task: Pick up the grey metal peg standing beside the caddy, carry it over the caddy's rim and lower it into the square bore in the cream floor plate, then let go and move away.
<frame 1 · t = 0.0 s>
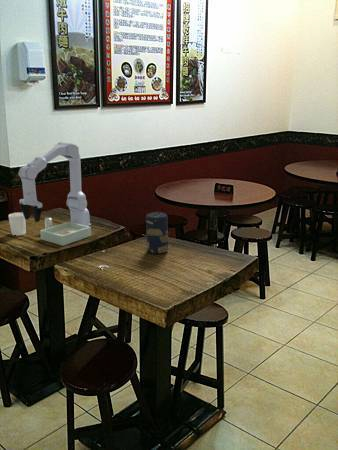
hand: (32, 220, 223), 10 cm above the table, tool pointing down, fingers open, 7 cm apart
white cup: (18, 234, 236), on the table
peg: (49, 231, 238), on the table
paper: (104, 264, 197), on the table
caddy: (66, 237, 229), on the table
canister: (157, 251, 210), on the table
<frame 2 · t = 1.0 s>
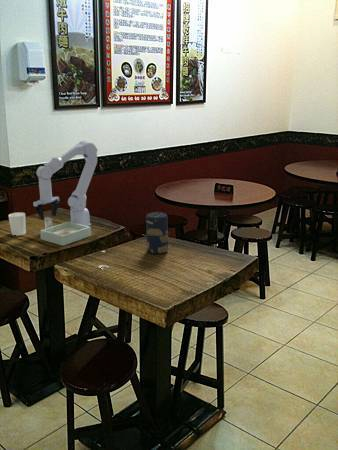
hand: (47, 217, 236), 8 cm above the table, tool pointing down, fingers open, 7 cm apart
nothing on the table moved.
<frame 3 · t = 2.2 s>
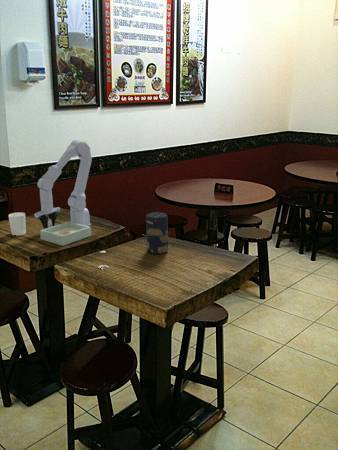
hand: (49, 228, 238), 2 cm above the table, tool pointing down, fingers closed on peg, 4 cm apart
peg: (49, 231, 238), on the table, touching gripper
everything else where it was.
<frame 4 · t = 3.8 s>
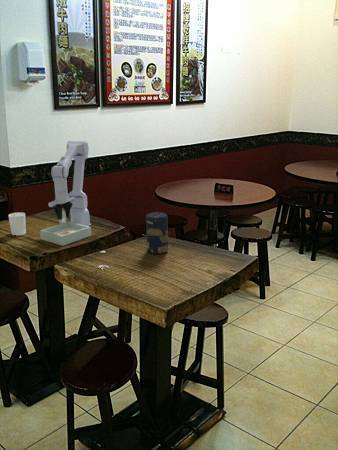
hand: (63, 218, 227), 9 cm above the table, tool pointing down, fingers closed on peg, 4 cm apart
peg: (63, 223, 228), point 7 cm above the table, touching gripper
everything else where it was.
when the fingers open (3 cm above the table, at t = 5.5 s): peg stays where it is, resting in caddy.
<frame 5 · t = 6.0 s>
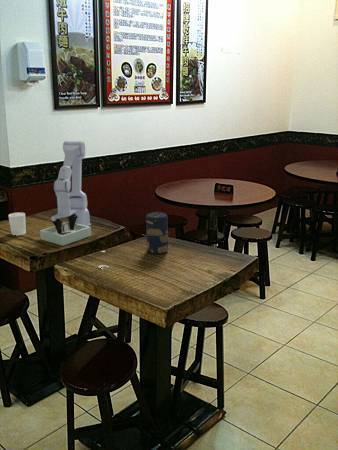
hand: (65, 231, 228), 3 cm above the table, tool pointing down, fingers open, 7 cm apart
peg: (65, 237, 230), resting in caddy
everything else where it was.
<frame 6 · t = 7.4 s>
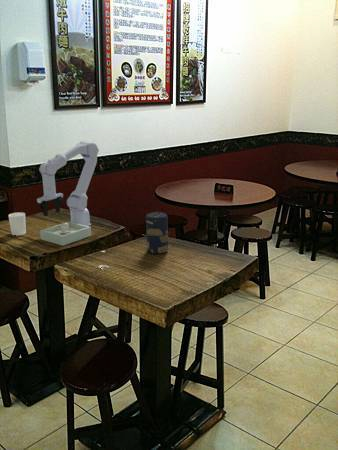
hand: (51, 214, 233), 10 cm above the table, tool pointing down, fingers open, 7 cm apart
nothing on the table moved.
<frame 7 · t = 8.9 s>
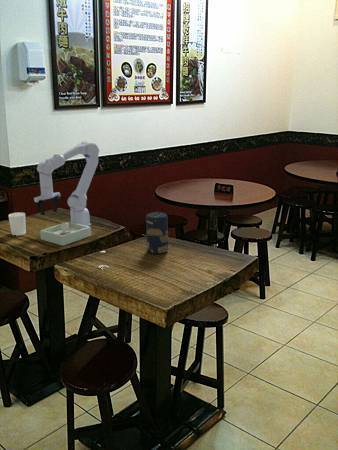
hand: (48, 213, 235), 10 cm above the table, tool pointing down, fingers open, 7 cm apart
nothing on the table moved.
at the end: peg 0.4 cm off-centre on the caddy, point 0.0 cm above the caddy's base; peg tilted 1°; the gripper is holding nothing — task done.
